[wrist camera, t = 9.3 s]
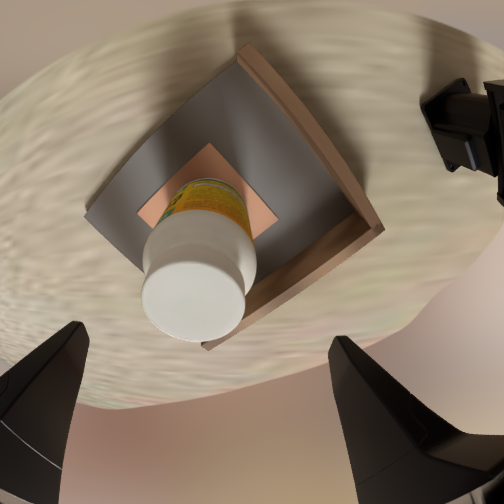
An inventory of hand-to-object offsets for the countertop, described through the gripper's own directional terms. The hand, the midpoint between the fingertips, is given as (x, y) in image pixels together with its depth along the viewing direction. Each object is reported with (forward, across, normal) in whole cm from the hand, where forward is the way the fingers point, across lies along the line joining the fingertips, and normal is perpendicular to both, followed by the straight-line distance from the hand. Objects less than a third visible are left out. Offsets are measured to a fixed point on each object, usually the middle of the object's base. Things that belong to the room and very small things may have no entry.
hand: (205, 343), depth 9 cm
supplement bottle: (+11, +1, 0) cm, 11 cm away
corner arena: (+12, 0, 0) cm, 12 cm away
